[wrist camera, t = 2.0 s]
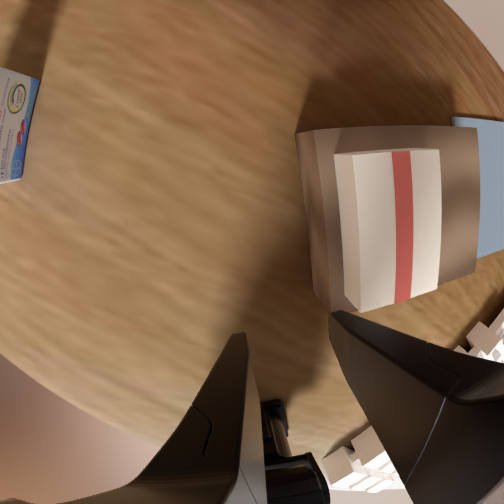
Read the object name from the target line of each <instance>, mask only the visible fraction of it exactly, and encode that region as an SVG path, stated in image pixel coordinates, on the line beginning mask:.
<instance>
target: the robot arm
mask: <svg viewBox="0 0 504 504" xmlns="http://www.w3.org/2000/svg"><path fill="white" fill-rule="evenodd" d="M328 324H329V338H330V342H331V344H332V347H333V349H334V352H335V354H336V357H337V359H338V361H339V364H340V366H341V369H342V371H343V374H344V376H345V379H346V380H347V382H348V384H349V386H350V388H351V390H352V391H353V393H354V395H355V397H356V399H357V400H358V402H359V404H360V406H361V407H362V409H363V411H364V413H365V415H366V416H367V418H368V420H369V422H370V424H371V425H372V427H373V429H374V431H375V433H376V434H377V436H378V438H379V440H380V442H381V444H382V445H383V447H384V449H385V451H386V453H387V455H388V456H389V458H390V460H391V462H392V464H393V466H394V467H395V469H396V471H397V473H398V475H399V477H400V479H401V480H402V482H403V484H404V485H405V488H406V490H407V492H408V494H409V495H410V497H411V499H412V501H413V503H414V504H504V363H500V362H496V361H492V360H488V359H484V358H479V357H475V356H471V355H467V354H464V353H460V352H456V351H453V350H450V349H447V348H444V347H441V346H438V345H435V344H432V343H430V342H428V343H427V342H426V341H424V340H421V339H418V338H416V337H413V336H410V335H407V334H405V333H402V332H399V331H397V330H394V329H391V328H388V327H386V326H383V325H380V324H378V323H375V322H372V321H370V320H367V319H364V318H362V317H359V316H356V315H354V314H351V313H349V312H346V311H343V310H338V311H334V312H331V313H329V316H328ZM287 437H288V431H287V424H286V417H285V411H284V404H283V401H282V400H280V399H278V400H273V401H268V402H263V403H260V400H259V394H258V389H257V385H256V380H255V376H254V371H253V366H252V362H251V357H250V352H249V348H248V343H247V338H246V334H245V333H244V332H242V333H237V334H232V335H231V336H230V338H229V340H228V342H227V343H226V345H225V347H224V349H223V350H222V352H221V354H220V356H219V357H218V359H217V361H216V363H215V364H214V366H213V368H212V370H211V371H210V373H209V375H208V377H207V378H206V380H205V382H204V384H203V385H202V387H201V389H200V391H199V392H198V394H197V396H196V397H195V399H194V401H193V403H192V406H190V407H189V409H188V411H187V413H186V414H185V416H184V417H183V419H182V421H181V422H180V424H179V425H178V427H177V428H176V430H175V431H174V432H173V434H172V435H171V436H170V438H169V439H168V440H167V442H166V443H165V444H164V445H163V446H162V448H161V449H160V450H159V451H158V453H157V454H156V455H155V456H154V457H153V459H152V460H151V461H150V462H149V464H148V465H147V466H146V467H145V469H144V470H143V471H142V472H141V473H140V474H139V475H138V476H137V477H136V478H135V479H134V480H132V481H131V482H130V483H128V484H126V485H124V486H122V487H120V488H117V489H113V490H110V491H107V492H104V493H100V494H97V495H93V496H89V497H85V498H81V499H77V500H73V501H68V502H64V503H58V504H330V493H329V489H328V485H327V482H326V480H325V478H324V476H323V474H322V472H321V470H320V468H319V466H318V464H317V463H316V461H315V459H314V457H313V455H312V453H311V452H308V453H305V454H302V455H297V456H292V455H291V451H290V448H289V444H288V441H287ZM0 504H33V503H29V502H26V501H23V500H19V499H16V498H8V499H3V500H0Z"/></svg>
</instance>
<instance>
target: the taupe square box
mask: <svg viewBox="0 0 504 504" xmlns="http://www.w3.org/2000/svg"><path fill="white" fill-rule="evenodd" d="M295 139H296V146H297V153H298V159H299V166H300V174H301V181H302V189H303V196H304V204H305V213H306V221H307V230H308V239H309V249H310V259H311V269H312V280H313V292H314V294H315V295H316V297H317V298H318V299H319V301H320V302H321V304H322V305H323V307H324V308H325V309H326V311H327V312H328V314H329V313H331V312H334V311H338V310H343V311H346V312H349V313H351V312H355V311H358V310H357V309H356V308H355V306H354V305H353V304H352V303H351V302H350V301H349V300H348V298H347V297H346V296H345V295H344V269H343V250H342V235H341V222H340V210H339V199H338V189H337V180H336V171H335V163H334V155H333V154H340V153H350V152H361V151H373V150H386V149H403V148H426V149H439V154H440V169H441V196H442V221H441V248H440V263H439V275H438V284H437V286H438V285H441V284H444V283H447V282H449V281H452V280H455V279H458V278H460V277H463V276H466V275H468V274H471V273H474V272H475V267H476V259H477V249H478V238H479V222H480V160H479V144H478V133H477V128H474V127H458V126H430V125H392V126H363V127H345V128H331V129H320V130H311V131H306V132H301V133H297V134H295Z"/></svg>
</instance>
